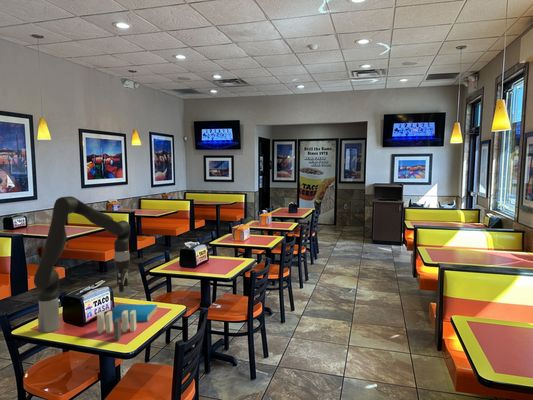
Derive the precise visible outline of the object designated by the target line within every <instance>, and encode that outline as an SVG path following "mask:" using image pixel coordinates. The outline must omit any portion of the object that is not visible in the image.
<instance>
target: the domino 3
mask: <svg viewBox="0 0 533 400" xmlns="http://www.w3.org/2000/svg"><path fill="white" fill-rule="evenodd" d="M113 337H114V338H113V339H114V342H119V341H120V339H121V338H122V321H121V320H120V318H116V319H115V321H113Z"/></svg>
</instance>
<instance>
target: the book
mask: <svg viewBox="0 0 533 400" xmlns="http://www.w3.org/2000/svg"><path fill="white" fill-rule="evenodd" d="M124 310H128V322H130V312H131V311H132V310H136V322H149V321H150V319H151V318H152V317H153V316H154V315H155V313H156V312H157V311H158V304H134V303H133V304H129V303H128V304H126V303H123V304H121V303H120V304H116V305H115V306H114V307H113V308H112V309H111V310H110V311H112V320H113V322H114V321H115V319H116V318H120V320H121V322H122V315H121V314H122V313H123V311H124ZM152 315H153V316H152Z"/></svg>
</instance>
